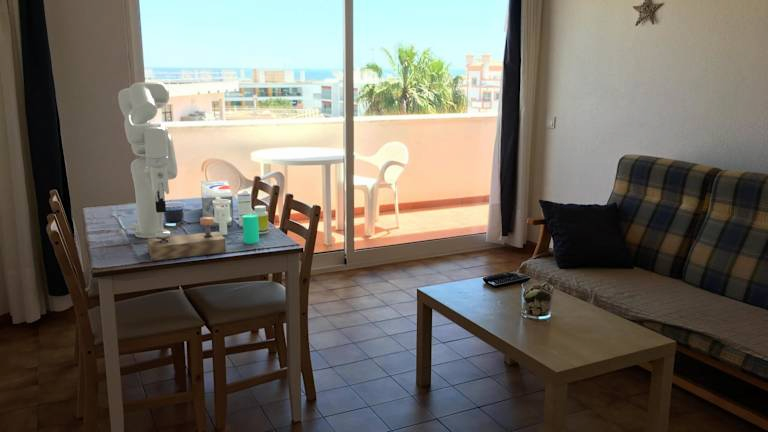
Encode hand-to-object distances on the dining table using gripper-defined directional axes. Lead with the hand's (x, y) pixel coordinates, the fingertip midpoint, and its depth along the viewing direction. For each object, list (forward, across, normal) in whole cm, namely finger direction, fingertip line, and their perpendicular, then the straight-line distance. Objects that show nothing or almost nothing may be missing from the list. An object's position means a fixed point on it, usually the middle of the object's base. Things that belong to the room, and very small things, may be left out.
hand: (161, 211), depth 232 cm
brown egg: (+11, -1, -16) cm, 19 cm away
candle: (+16, +3, -33) cm, 37 cm away
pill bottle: (+17, +15, -40) cm, 46 cm away
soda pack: (+18, +52, -30) cm, 63 cm away
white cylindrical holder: (+17, +19, -26) cm, 36 cm away
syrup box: (+17, +31, -38) cm, 52 cm away
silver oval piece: (+15, -1, 0) cm, 15 cm away
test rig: (+16, -1, -8) cm, 18 cm away
